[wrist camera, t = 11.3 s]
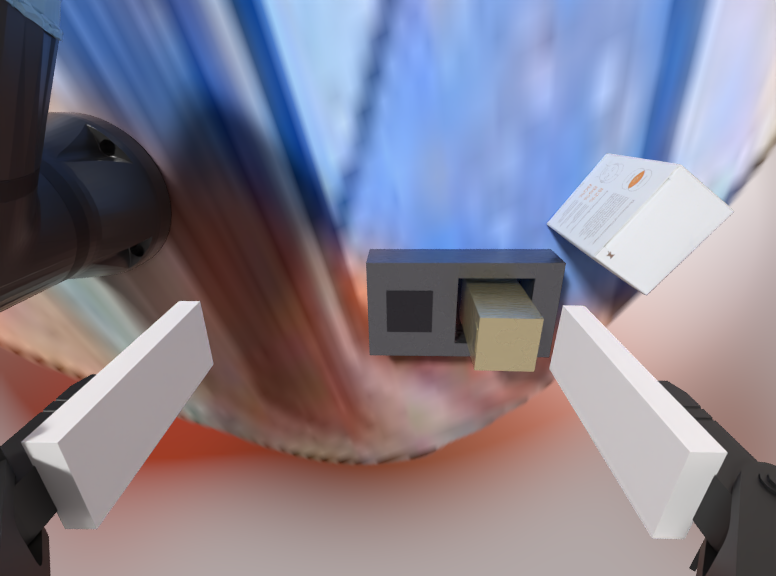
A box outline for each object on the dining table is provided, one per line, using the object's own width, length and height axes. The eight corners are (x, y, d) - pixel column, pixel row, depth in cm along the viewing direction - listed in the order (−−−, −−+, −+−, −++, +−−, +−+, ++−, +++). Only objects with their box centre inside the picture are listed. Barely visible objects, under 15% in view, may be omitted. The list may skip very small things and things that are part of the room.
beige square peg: (458, 315, 42) (473, 370, 33) (462, 272, 40) (479, 317, 31) (506, 316, 42) (534, 371, 33) (512, 272, 40) (544, 319, 31)
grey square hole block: (372, 335, 44) (369, 355, 40) (369, 249, 40) (366, 263, 36) (536, 336, 43) (549, 357, 39) (550, 249, 39) (566, 263, 35)
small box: (586, 254, 39) (645, 299, 29) (544, 222, 38) (591, 259, 28) (650, 186, 36) (739, 211, 26) (606, 150, 35) (682, 163, 25)
